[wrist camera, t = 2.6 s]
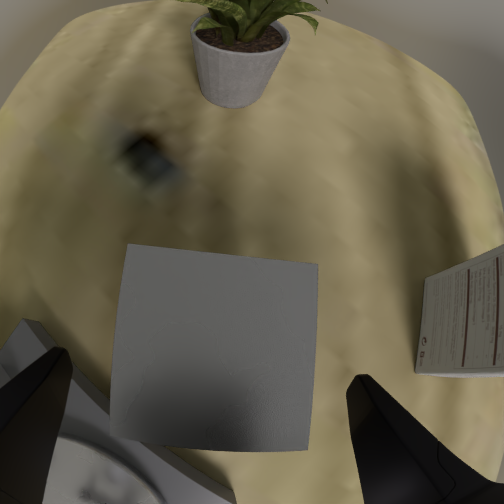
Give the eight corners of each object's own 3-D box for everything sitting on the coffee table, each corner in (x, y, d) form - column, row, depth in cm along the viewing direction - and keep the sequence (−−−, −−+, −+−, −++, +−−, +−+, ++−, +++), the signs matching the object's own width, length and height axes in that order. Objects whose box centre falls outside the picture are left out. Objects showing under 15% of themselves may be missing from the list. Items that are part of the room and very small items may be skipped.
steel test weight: (245, 388, 16) (307, 450, 6) (166, 381, 16) (109, 435, 5) (250, 312, 18) (317, 264, 7) (173, 305, 17) (127, 243, 7)
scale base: (121, 580, 9) (108, 618, 4) (-36, 439, 11) (-76, 449, 6) (234, 492, 14) (245, 537, 9) (38, 321, 15) (-10, 310, 10)
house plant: (278, 35, 26) (316, -89, 11) (350, 123, 23) (444, -28, 8) (145, 57, 23) (138, -95, 7) (186, 163, 20) (190, -86, 4)
